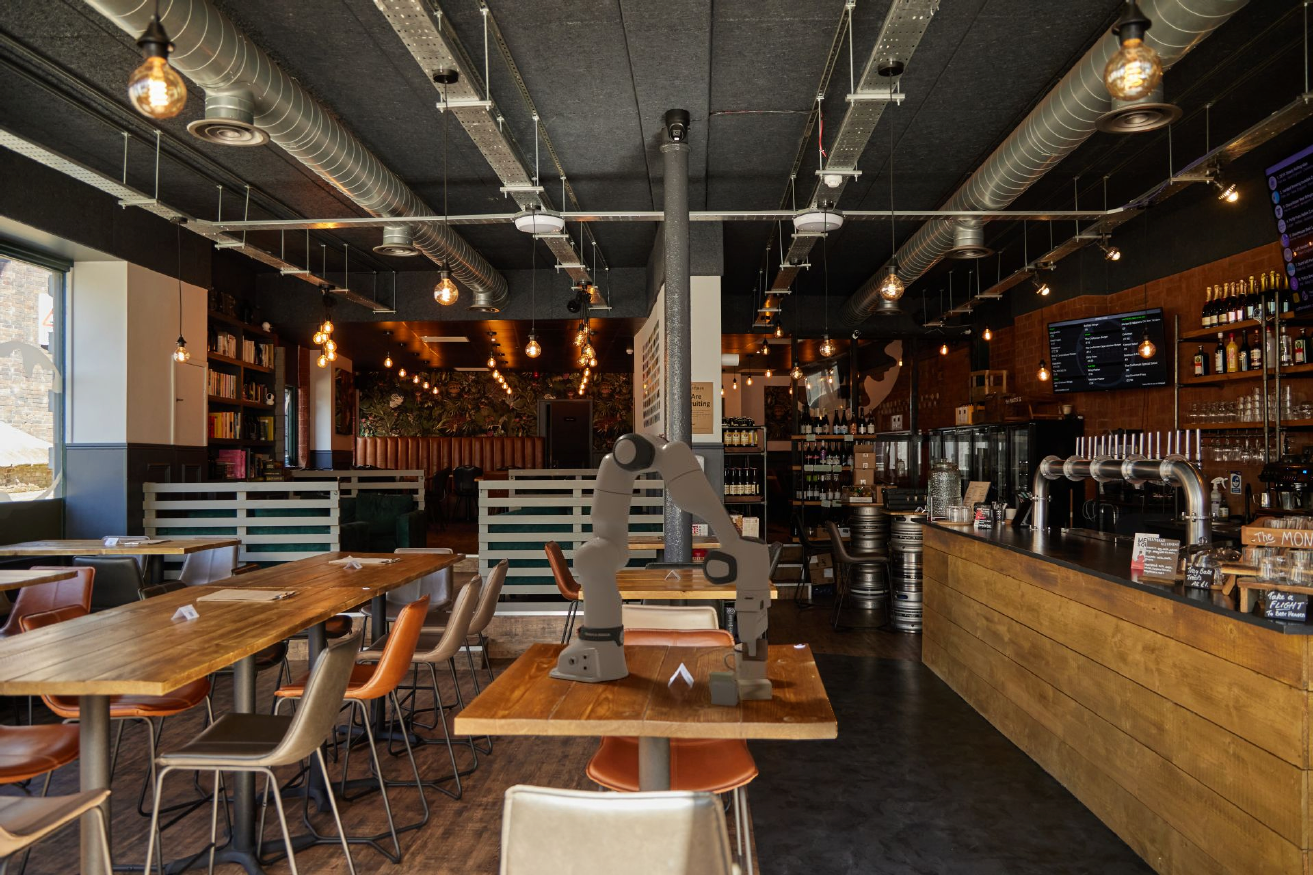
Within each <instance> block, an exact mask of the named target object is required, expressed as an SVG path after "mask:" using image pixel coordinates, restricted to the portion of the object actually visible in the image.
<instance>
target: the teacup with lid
mask: <svg viewBox="0 0 1313 875" xmlns="http://www.w3.org/2000/svg"><path fill="white" fill-rule="evenodd" d="M733 651H734V652H733ZM733 651H732V652H727V653H726V654H725V655H724V657H723V665H724V666H725V668H726V669H727V670H729V671H731V672H734V673H735V680H736V681H737V680H755V679H767V661H766V662H759V661H742V642H741V643H738V644H735V645H734V647H733ZM729 656H734V667H730V665H728V663H727V657H729Z"/></svg>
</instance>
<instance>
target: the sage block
mask: <svg viewBox="0 0 1313 875" xmlns="http://www.w3.org/2000/svg"><path fill="white" fill-rule="evenodd" d="M708 676H709V694H711V684H712V683H713V682H714V681H723V682H736V681H735V680H736V679H735V672H734V671H731V672H729V671H711V672H710V673H709V674H708Z"/></svg>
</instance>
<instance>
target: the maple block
mask: <svg viewBox="0 0 1313 875" xmlns="http://www.w3.org/2000/svg"><path fill="white" fill-rule="evenodd" d="M736 682H737V683H738V699H740V700H741V701H743V700H744V701H749V700H750V701H751V700H772V699H773V688H772V687H773V684H772V682H771V681H770V680H769V679H768V678H766V679H755V680H736Z"/></svg>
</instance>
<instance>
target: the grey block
mask: <svg viewBox="0 0 1313 875" xmlns="http://www.w3.org/2000/svg"><path fill="white" fill-rule="evenodd" d="M710 695H711V696H710V698H711V700H710V704H711V705H717V706H730V707H736V706H737V704H738V703H739V696H738V683H737V681H735V682H723V681H714V682H713V683H712V684H711V693H710Z"/></svg>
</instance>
